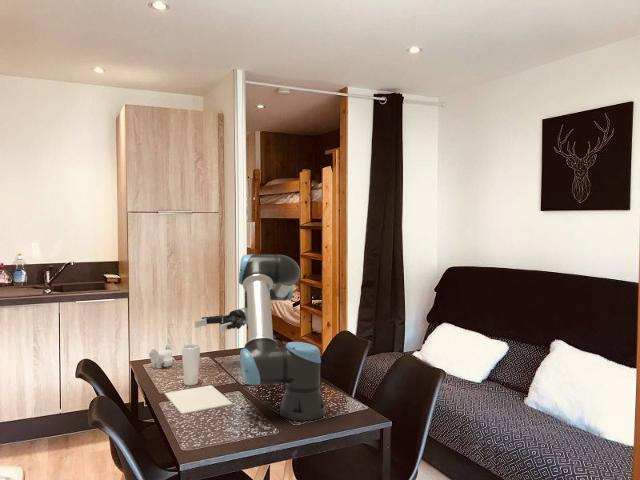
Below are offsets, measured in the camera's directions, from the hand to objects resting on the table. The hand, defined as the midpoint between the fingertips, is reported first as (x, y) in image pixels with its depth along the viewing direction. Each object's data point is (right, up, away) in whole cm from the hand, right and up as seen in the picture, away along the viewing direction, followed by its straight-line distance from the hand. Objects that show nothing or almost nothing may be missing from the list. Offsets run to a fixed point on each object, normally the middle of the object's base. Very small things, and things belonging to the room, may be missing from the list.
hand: (207, 326), depth 204 cm
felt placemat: (+2, -22, -25) cm, 33 cm away
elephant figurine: (-23, -20, +14) cm, 34 cm away
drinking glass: (-5, -21, -8) cm, 23 cm away
